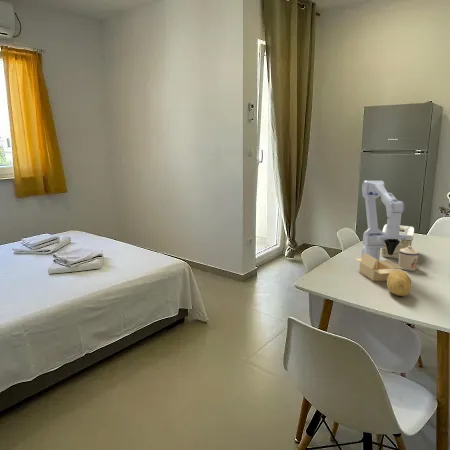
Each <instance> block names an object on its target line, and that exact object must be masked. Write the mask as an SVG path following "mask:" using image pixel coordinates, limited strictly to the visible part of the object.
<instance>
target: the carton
mask: <svg viewBox="0 0 450 450" xmlns="http://www.w3.org/2000/svg"><path fill="white" fill-rule="evenodd" d="M354 259H355V261H357V262H359V270H358V271H359V272H358V273H360V274H361V275H363V276H364V277H366V278H367V279H369V280H371V281H372V282H376V281H377V282H380V281H381V282H382V281H387V278H388V276H389V274H390V273H391V272H392V271H395V270H403V268H402V267H400V266H398V264H397V263H395V262H392V261H391V260H388V259H386V260H385V259H384V260H383V259H382V260H379V261H378V260H377V262H376V264H375V266H374V268H373V269H371V268H369V267H368V266H366V265H364V264H362V263H361V262H360V261H361V259H362V258H361V257H360V258H354Z"/></svg>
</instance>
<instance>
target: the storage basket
mask: <svg viewBox="0 0 450 450" xmlns="http://www.w3.org/2000/svg"><path fill="white" fill-rule="evenodd" d="M386 228H387V223H386V224H384V225H383V228H382V230H381V231H382V232H383V235H386ZM400 231H404V233H403V232H402V233H401V232H399V235H407V240H405V239H398V240H399V241H400V243H399V244H398V245H397V247H396V248H395V250H394V253H393V255H389V254H388V251H387V247H386V244H384V246H382V248H381V257H385V258H392V259H397V260H399V253H400V252H399V251H400V249H404V248H408V246H412V245H413V244H412V243H413V240H414V235H415V227H414V226H410V225H409V226H408V225H401V224H400Z"/></svg>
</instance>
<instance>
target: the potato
mask: <svg viewBox="0 0 450 450" xmlns="http://www.w3.org/2000/svg"><path fill="white" fill-rule="evenodd" d="M412 285H413V283H412V280H411V277H410V276H409V274H408V273H407V272H405V270H401V269H395V271H392V272H391V273H390V274H389V276H388V278H387V280H386V286H387V288H388V291H389V292H390V293H392V294H394V295H396V296H399V297H405V296H408V295H409V294H410V293H411V289H412Z"/></svg>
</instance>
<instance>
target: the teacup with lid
mask: <svg viewBox="0 0 450 450" xmlns="http://www.w3.org/2000/svg"><path fill="white" fill-rule="evenodd" d="M399 252H400V253H399V259H398V262H397V263H398V264H397V265H398V266H400V267H402V268H403V269H402V271H416V270H418V261H419V255H420V251H419V250H417V249H414V248H413V247H412V245H411V246H408V248H404V249H400V251H399Z"/></svg>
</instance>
